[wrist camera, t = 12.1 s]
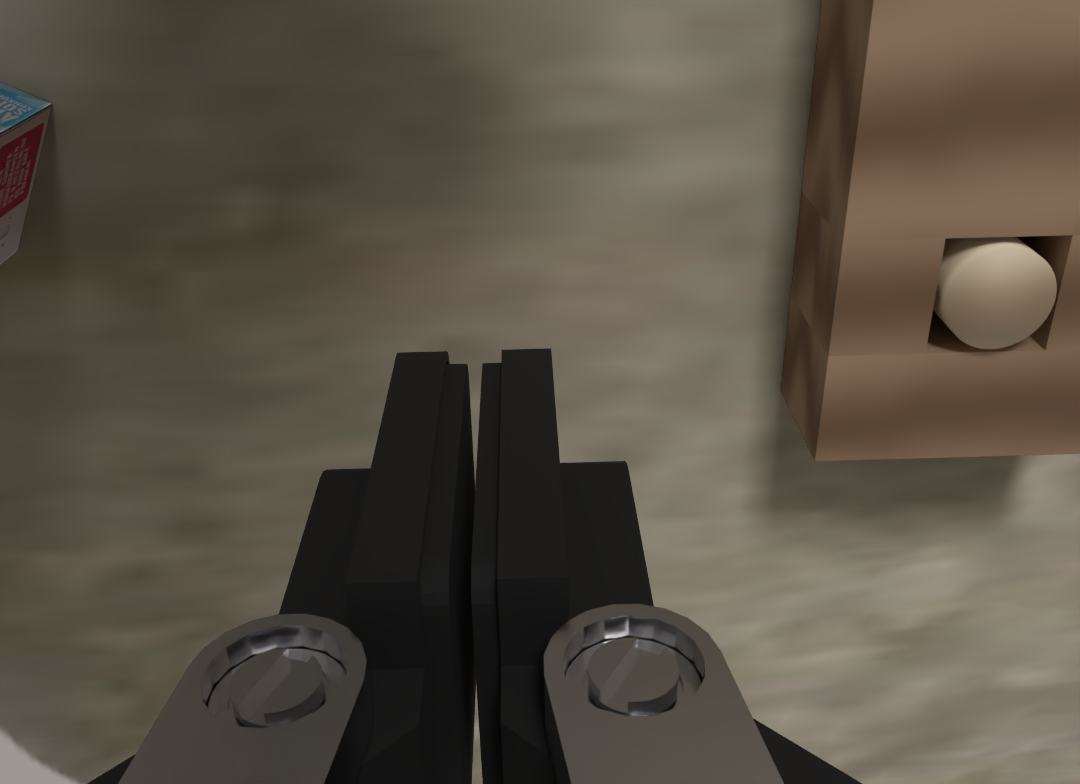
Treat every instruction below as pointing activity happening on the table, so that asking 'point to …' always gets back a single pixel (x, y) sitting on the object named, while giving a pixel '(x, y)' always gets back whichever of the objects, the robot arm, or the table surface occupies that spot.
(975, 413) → the press block
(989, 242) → the peg
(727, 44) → the table surface
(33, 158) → the juice carton
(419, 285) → the table surface
